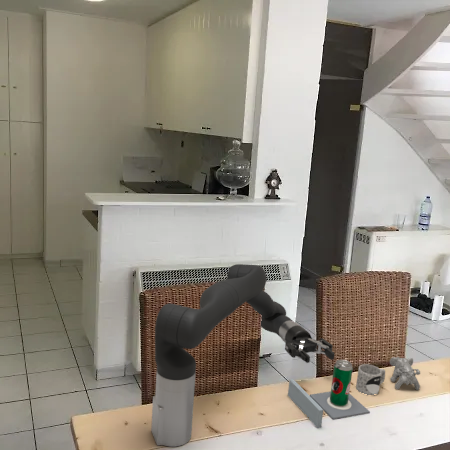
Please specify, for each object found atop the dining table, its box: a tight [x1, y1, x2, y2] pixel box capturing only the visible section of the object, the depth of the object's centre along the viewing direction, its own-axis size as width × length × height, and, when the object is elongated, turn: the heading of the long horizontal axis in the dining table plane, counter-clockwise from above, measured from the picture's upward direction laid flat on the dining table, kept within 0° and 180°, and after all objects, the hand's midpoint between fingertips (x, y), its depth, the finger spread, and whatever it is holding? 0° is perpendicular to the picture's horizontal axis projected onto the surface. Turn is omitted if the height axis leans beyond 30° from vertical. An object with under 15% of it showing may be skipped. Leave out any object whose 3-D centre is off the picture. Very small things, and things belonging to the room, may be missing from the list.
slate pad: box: [309, 390, 371, 421], centre depth 142 cm, size 12×12×1 cm
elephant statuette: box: [389, 356, 421, 391], centre depth 157 cm, size 9×12×8 cm
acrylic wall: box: [287, 378, 324, 429], centre depth 137 cm, size 1×16×5 cm, turn 21°
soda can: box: [330, 359, 354, 406], centre depth 141 cm, size 5×5×12 cm
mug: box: [355, 363, 386, 396], centre depth 151 cm, size 10×7×7 cm
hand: (321, 358), depth 150 cm, fingers open, 8 cm apart
